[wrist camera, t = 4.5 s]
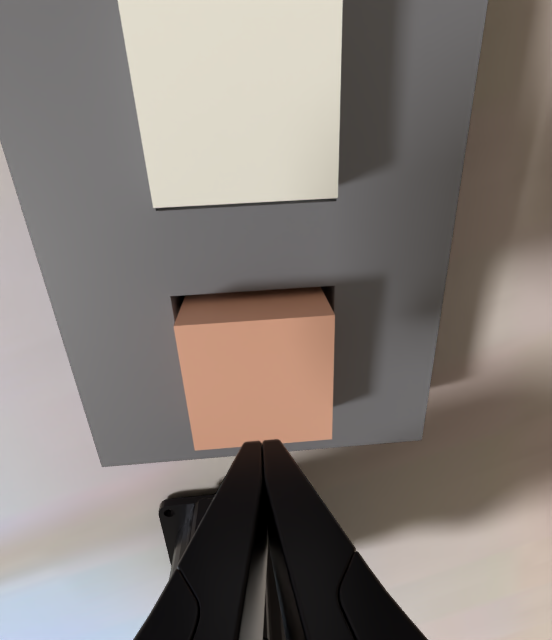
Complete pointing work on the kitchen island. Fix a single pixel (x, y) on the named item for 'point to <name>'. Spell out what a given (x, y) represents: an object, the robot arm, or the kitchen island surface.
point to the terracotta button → (257, 366)
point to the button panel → (240, 218)
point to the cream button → (236, 98)
